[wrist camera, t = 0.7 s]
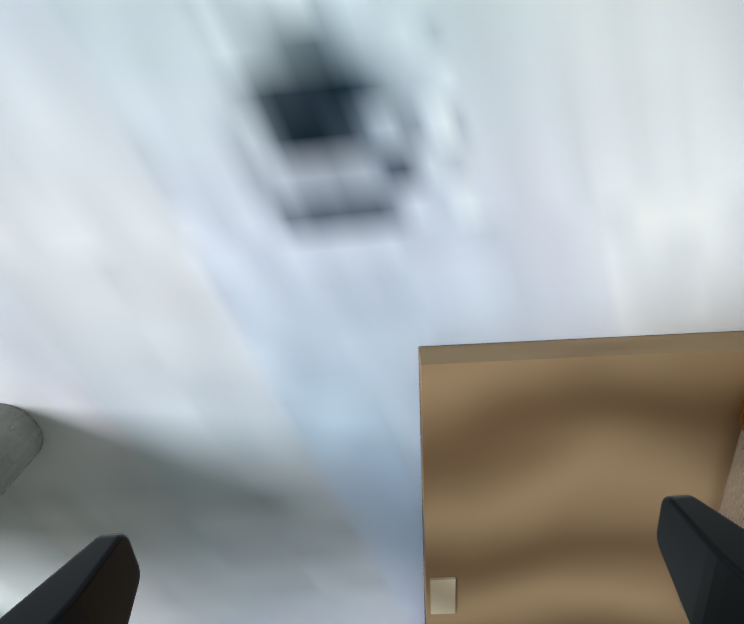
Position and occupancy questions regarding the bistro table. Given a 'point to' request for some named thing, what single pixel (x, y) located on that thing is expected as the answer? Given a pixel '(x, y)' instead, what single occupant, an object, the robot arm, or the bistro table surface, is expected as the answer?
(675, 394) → the board
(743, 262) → the bistro table surface
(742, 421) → the lever
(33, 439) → the hip flask
